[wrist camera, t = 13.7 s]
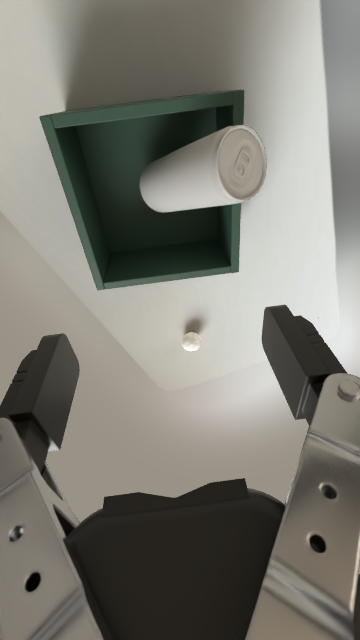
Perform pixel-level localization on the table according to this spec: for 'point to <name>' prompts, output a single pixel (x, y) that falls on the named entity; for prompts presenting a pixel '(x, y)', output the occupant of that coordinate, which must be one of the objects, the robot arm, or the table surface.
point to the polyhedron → (191, 341)
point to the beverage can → (207, 172)
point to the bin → (124, 188)
